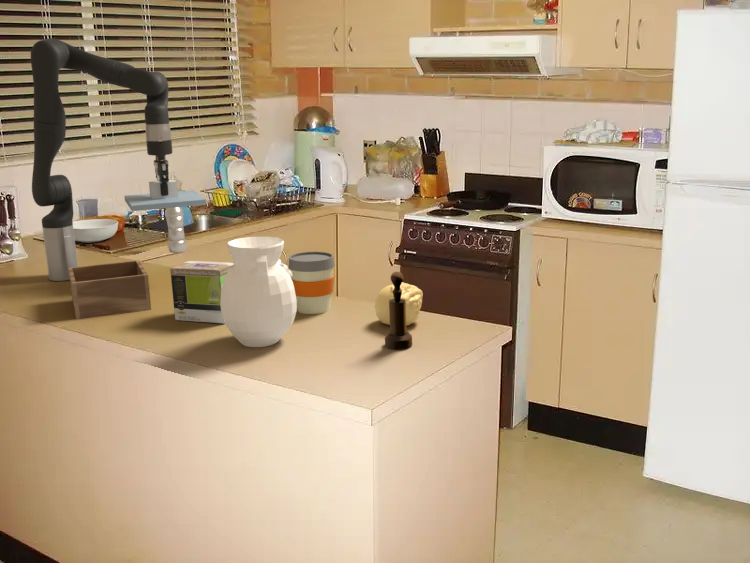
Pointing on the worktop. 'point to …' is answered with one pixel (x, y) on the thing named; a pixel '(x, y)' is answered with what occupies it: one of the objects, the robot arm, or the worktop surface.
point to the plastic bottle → (176, 230)
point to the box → (109, 289)
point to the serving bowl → (94, 230)
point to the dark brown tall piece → (397, 317)
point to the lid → (164, 198)
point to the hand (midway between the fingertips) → (163, 194)
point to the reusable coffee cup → (312, 281)
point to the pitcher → (258, 292)
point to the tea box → (198, 290)
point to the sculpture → (408, 293)
